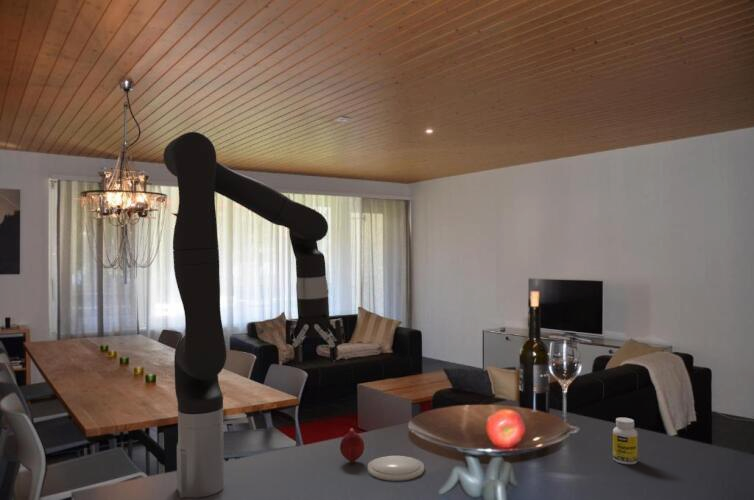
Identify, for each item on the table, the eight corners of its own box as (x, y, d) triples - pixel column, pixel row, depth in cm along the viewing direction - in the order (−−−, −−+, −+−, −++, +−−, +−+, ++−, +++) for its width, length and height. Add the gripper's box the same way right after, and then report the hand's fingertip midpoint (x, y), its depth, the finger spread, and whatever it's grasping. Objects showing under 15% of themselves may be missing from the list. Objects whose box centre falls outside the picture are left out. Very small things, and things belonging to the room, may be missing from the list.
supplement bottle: (614, 464, 137) (614, 422, 137) (611, 456, 142) (610, 415, 142) (639, 465, 136) (639, 423, 136) (635, 457, 141) (634, 417, 141)
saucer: (383, 484, 126) (383, 478, 126) (358, 465, 138) (358, 459, 138) (434, 474, 132) (434, 468, 132) (407, 456, 144) (407, 451, 144)
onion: (368, 464, 138) (367, 430, 138) (344, 468, 136) (344, 433, 136) (359, 456, 144) (359, 424, 144) (337, 460, 142) (336, 426, 142)
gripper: (278, 298, 138) (282, 365, 139) (336, 297, 135) (340, 366, 136) (290, 293, 146) (294, 357, 147) (345, 292, 142) (348, 358, 143)
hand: (316, 361), depth 141 cm, fingers open, 8 cm apart
